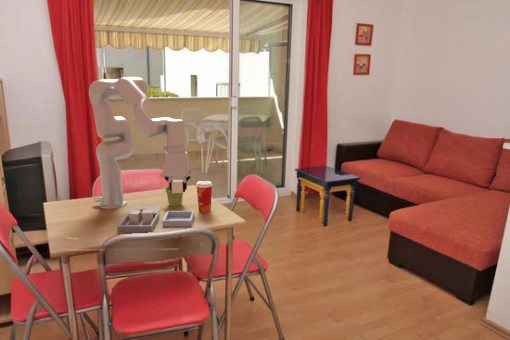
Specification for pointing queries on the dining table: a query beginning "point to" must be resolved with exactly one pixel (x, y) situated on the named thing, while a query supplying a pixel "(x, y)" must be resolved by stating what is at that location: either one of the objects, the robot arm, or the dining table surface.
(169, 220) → the bin
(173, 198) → the plant pot
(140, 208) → the lid board
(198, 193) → the paper cup
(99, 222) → the dining table surface
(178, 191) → the cream cube
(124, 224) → the bin
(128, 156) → the robot arm
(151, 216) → the stone
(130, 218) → the stone
